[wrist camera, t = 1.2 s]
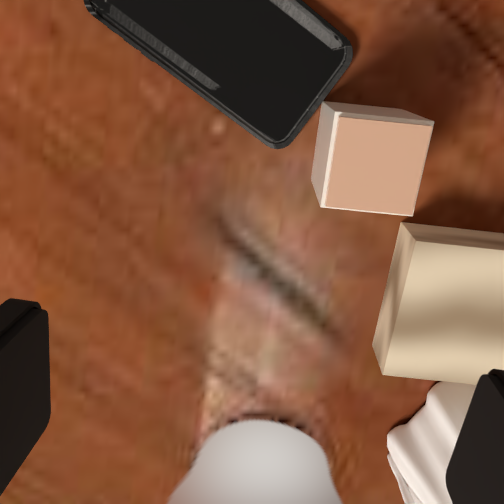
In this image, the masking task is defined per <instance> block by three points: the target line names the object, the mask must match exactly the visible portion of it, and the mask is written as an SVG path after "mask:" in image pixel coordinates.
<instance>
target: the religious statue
mask: <svg viewBox="0 0 504 504" xmlns="http://www.w3.org/2000/svg"><path fill="white" fill-rule="evenodd" d="M476 386H477V385H473V384H464V383H454V382H445V381H442V382H439V383H437V384H435V385H434V386H433V387H432V388H431V389H430V391H429V392H428V394H427V400H426V404H425V405H424V406H423V407H422V408H421V409H420V410H419V411H418V412H417V413H416V414H415V415H414V416H413V417H412V418H411V420H410V421H409V422H408V423H407V424H404V425H399V426H397V427H395V428H394V429H392V430H391V431H389V433H388V435H387V447H388V450H389V452H390V453H389V454H388V455H387V457H388V461H389V463H390V466H391V468H392V471H393V473H394V475H395V476H396V478H397V481H398V484H399V488H400V491H401V493H402V497H403V500H404V502H405V504H453V503H452V500H451V498H450V495H449V493H448V490H447V487H446V478H445V477H446V470H447V467H448V464H449V461H450V459H451V456H452V453H453V450H454V447H455V445H456V442H457V439H458V436H459V433H460V431H461V428H462V425H463V422H464V419H465V416H466V414H467V411H468V408H469V405H470V402H471V400H472V397H473V394H474V391H475V388H476ZM406 483H407V484H406ZM407 485H408V486H407Z"/></svg>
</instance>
